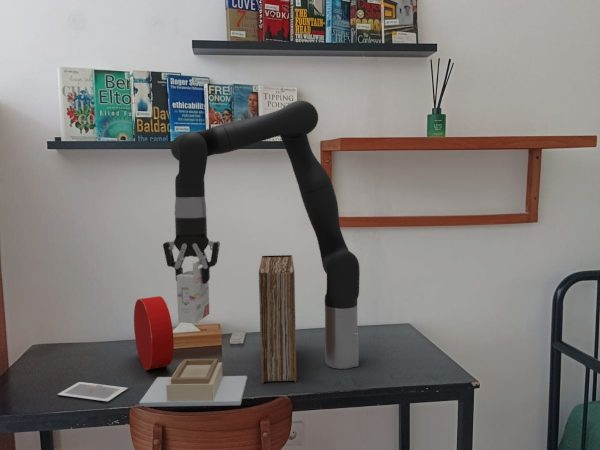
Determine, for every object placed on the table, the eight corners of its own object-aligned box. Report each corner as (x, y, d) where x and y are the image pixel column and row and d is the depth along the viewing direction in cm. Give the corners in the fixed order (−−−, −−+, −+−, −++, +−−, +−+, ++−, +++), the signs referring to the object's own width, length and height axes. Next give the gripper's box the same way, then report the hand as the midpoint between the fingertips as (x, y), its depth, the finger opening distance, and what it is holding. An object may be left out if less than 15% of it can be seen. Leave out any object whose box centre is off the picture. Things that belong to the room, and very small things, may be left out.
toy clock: (175, 375, 135) (172, 303, 133) (153, 380, 132) (150, 307, 130) (155, 353, 152) (152, 290, 150) (135, 357, 149) (132, 292, 147)
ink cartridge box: (192, 313, 128) (190, 257, 127) (209, 314, 127) (208, 257, 126) (176, 322, 120) (175, 262, 119) (195, 324, 119) (194, 263, 117)
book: (296, 383, 129) (294, 270, 126) (261, 384, 128) (258, 271, 126) (293, 349, 154) (292, 254, 151) (264, 350, 154) (261, 255, 151)
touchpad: (108, 405, 119) (107, 397, 119) (57, 398, 123) (56, 390, 123) (128, 392, 126) (127, 383, 126) (79, 385, 131) (79, 377, 130)
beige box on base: (247, 379, 132) (246, 356, 131) (240, 405, 117) (239, 380, 116) (157, 380, 132) (156, 358, 131) (139, 406, 117) (138, 381, 116)
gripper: (222, 214, 125) (224, 280, 126) (166, 214, 125) (168, 280, 127) (217, 216, 117) (218, 286, 119) (157, 216, 118) (159, 286, 119)
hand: (192, 282), depth 123 cm, fingers closed on ink cartridge box, 5 cm apart
